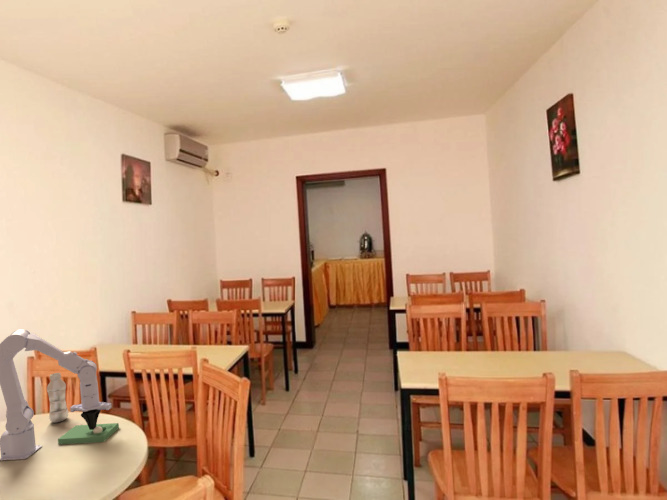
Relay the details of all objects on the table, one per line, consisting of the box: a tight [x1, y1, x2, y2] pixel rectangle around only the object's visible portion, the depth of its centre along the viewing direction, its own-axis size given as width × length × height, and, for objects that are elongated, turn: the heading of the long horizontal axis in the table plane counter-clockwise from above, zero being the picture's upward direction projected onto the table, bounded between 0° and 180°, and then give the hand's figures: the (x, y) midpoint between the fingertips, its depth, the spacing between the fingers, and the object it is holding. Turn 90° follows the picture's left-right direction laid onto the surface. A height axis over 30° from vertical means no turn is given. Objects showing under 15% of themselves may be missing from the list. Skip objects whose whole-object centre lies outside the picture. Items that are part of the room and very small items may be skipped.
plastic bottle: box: [46, 372, 69, 424], centre depth 162 cm, size 6×7×20 cm
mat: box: [57, 422, 120, 445], centre depth 148 cm, size 17×10×2 cm, turn 90°
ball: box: [93, 426, 103, 434], centre depth 148 cm, size 3×3×3 cm
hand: (92, 428), depth 148 cm, fingers closed
